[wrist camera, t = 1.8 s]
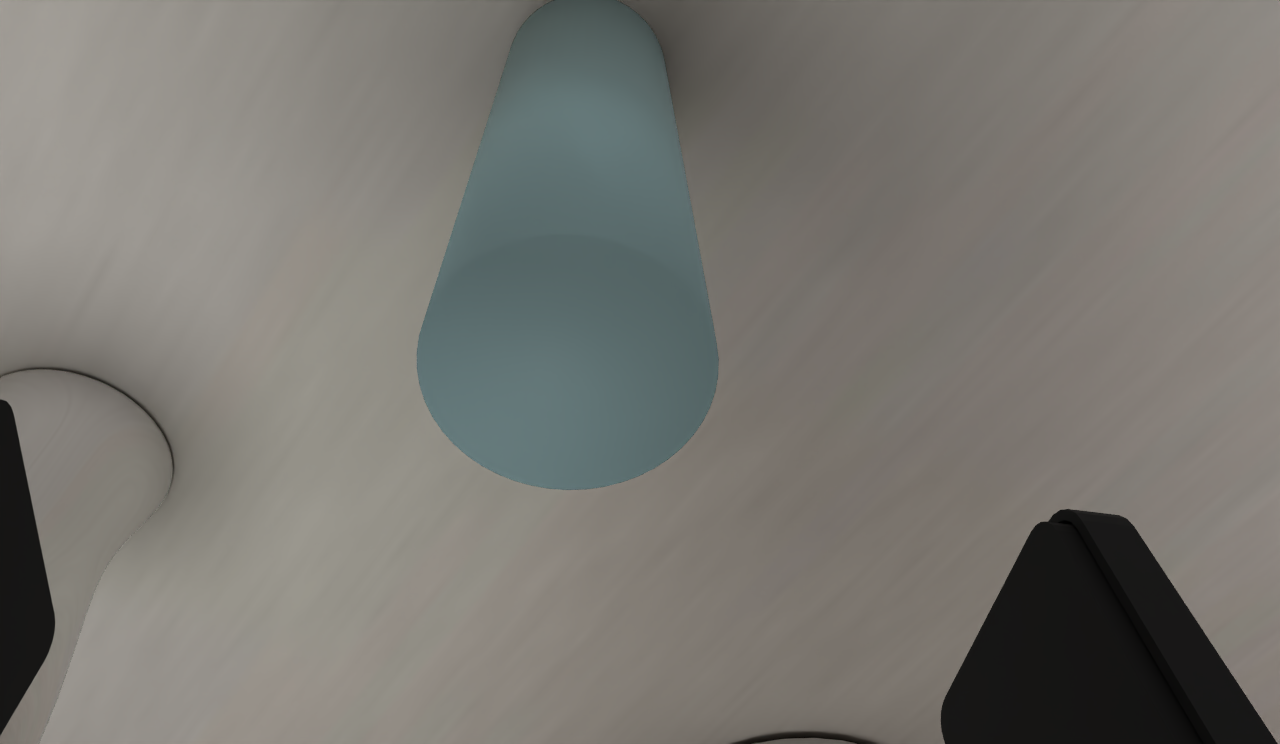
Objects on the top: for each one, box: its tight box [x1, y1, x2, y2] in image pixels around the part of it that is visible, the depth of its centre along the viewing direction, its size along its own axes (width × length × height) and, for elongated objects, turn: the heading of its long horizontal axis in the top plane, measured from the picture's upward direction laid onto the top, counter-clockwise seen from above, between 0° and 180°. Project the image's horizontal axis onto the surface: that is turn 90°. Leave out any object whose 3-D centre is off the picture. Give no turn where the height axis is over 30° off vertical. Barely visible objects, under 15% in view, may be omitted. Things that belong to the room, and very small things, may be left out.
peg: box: [417, 0, 719, 490], centre depth 19 cm, size 4×4×14 cm
